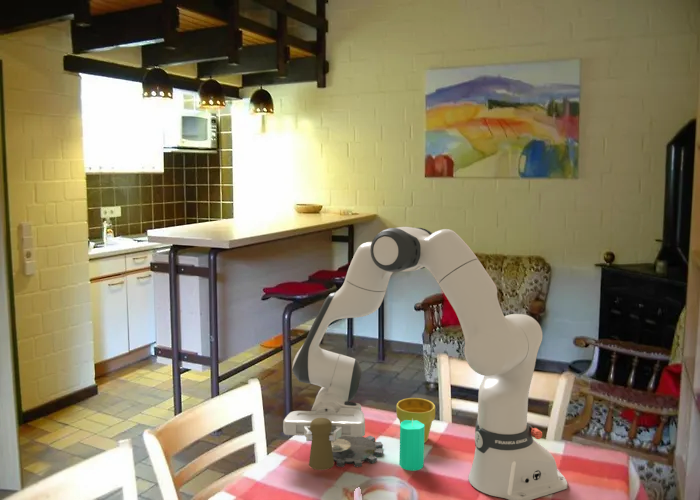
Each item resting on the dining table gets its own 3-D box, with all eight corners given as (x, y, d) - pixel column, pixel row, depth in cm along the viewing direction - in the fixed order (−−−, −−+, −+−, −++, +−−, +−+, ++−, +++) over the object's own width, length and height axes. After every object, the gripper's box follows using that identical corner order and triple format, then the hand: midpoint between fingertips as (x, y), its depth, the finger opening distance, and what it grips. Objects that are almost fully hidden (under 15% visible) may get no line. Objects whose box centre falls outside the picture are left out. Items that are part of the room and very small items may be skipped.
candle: (424, 470, 146) (426, 423, 144) (400, 470, 146) (401, 423, 144) (422, 459, 152) (423, 413, 150) (398, 458, 152) (399, 413, 150)
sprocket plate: (371, 432, 167) (371, 428, 167) (392, 462, 150) (392, 457, 150) (309, 439, 162) (309, 435, 162) (323, 471, 145) (323, 466, 145)
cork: (331, 471, 140) (330, 425, 138) (305, 468, 141) (305, 423, 139) (336, 459, 146) (336, 415, 144) (312, 457, 147) (311, 413, 145)
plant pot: (407, 451, 156) (408, 415, 155) (389, 434, 165) (389, 400, 164) (441, 443, 160) (442, 408, 159) (422, 428, 170) (422, 395, 168)
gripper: (287, 402, 156) (276, 424, 142) (366, 403, 154) (363, 426, 140) (288, 425, 156) (277, 449, 143) (366, 427, 155) (363, 452, 141)
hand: (320, 438), depth 141 cm, fingers closed on cork, 4 cm apart
